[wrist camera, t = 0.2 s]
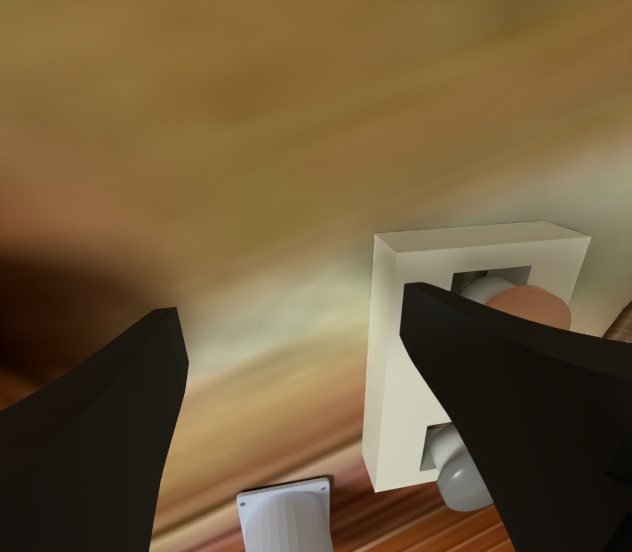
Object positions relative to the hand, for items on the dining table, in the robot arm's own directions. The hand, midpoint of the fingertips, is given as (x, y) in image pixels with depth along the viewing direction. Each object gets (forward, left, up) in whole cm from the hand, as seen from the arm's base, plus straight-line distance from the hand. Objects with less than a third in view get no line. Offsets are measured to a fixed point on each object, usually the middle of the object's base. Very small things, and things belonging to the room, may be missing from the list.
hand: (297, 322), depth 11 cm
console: (-11, -12, -10) cm, 19 cm away
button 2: (-5, -12, -7) cm, 15 cm away
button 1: (-17, -12, -7) cm, 22 cm away
